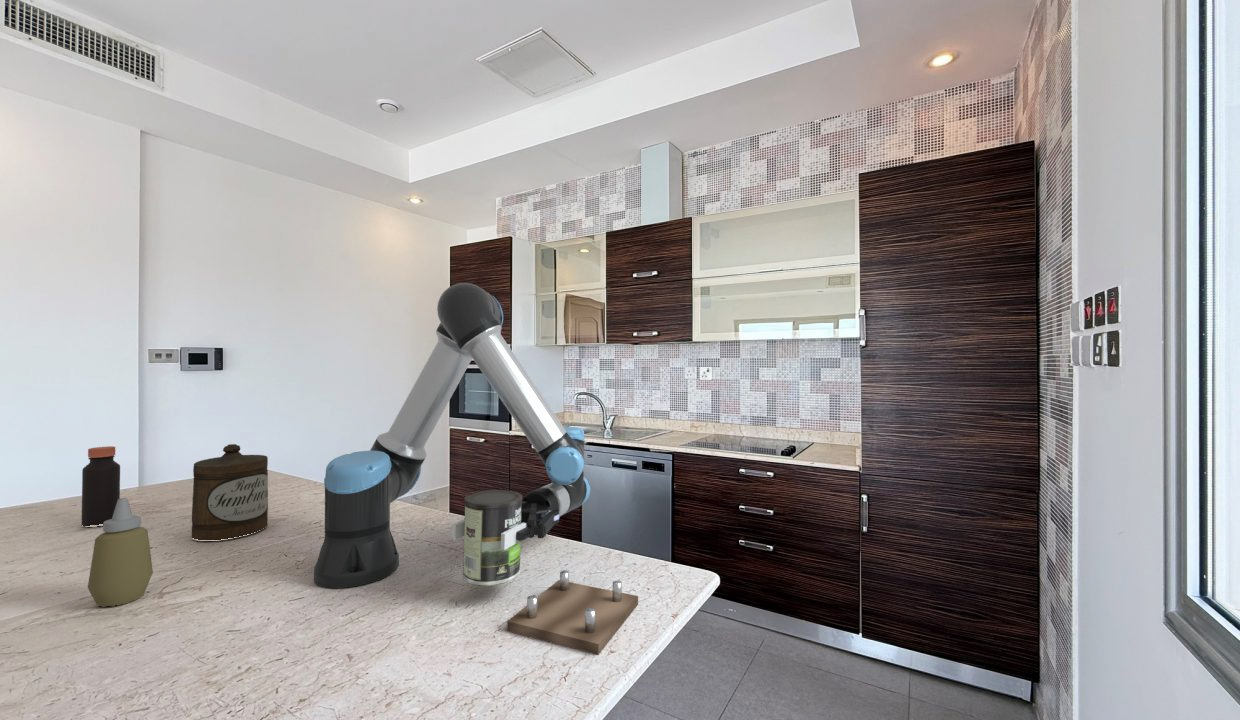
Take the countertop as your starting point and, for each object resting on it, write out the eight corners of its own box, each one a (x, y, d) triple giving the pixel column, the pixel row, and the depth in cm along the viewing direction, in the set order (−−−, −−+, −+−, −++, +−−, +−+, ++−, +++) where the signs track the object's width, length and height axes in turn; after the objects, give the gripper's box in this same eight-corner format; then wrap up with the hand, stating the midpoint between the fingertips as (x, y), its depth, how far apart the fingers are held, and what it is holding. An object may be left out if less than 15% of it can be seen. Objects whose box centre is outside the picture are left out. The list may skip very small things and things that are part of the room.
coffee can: (529, 565, 93) (530, 491, 93) (505, 589, 82) (507, 506, 83) (479, 559, 95) (481, 487, 95) (451, 582, 85) (453, 501, 85)
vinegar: (73, 527, 124) (75, 449, 124) (105, 519, 131) (107, 445, 131) (95, 529, 123) (96, 450, 123) (126, 520, 130) (127, 446, 130)
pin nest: (507, 630, 76) (507, 602, 76) (558, 587, 91) (558, 563, 91) (598, 654, 70) (598, 623, 70) (638, 604, 85) (638, 578, 85)
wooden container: (218, 546, 112) (219, 450, 112) (176, 538, 116) (177, 447, 117) (281, 526, 126) (282, 441, 126) (242, 520, 131) (243, 438, 131)
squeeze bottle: (163, 593, 88) (164, 495, 89) (104, 615, 81) (105, 507, 81) (136, 587, 91) (137, 491, 91) (76, 607, 83) (78, 502, 84)
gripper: (591, 529, 101) (531, 570, 80) (502, 514, 110) (427, 547, 89) (592, 493, 101) (532, 524, 80) (503, 481, 110) (429, 506, 89)
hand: (477, 536), depth 85 cm, fingers closed on coffee can, 10 cm apart
